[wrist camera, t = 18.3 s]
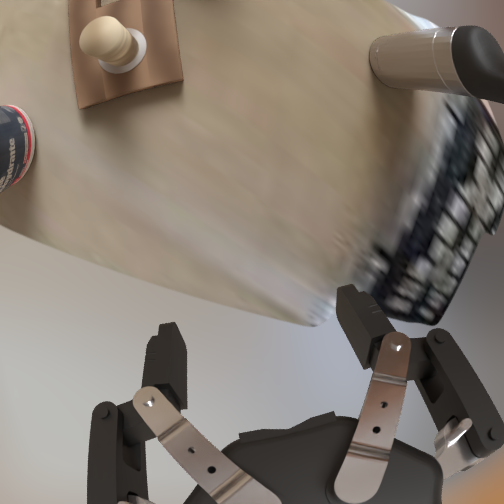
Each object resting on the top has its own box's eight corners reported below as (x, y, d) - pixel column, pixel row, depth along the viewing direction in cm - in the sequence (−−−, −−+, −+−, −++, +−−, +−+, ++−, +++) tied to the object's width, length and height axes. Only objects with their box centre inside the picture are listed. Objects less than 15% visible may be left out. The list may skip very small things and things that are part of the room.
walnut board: (167, -54, 19) (166, -62, 17) (183, 80, 31) (182, 78, 29) (75, -25, 18) (69, -31, 15) (85, 108, 30) (78, 109, 27)
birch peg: (137, 31, 24) (119, 10, 16) (141, 60, 26) (123, 47, 19) (104, 41, 24) (78, 25, 16) (107, 71, 26) (81, 62, 18)
